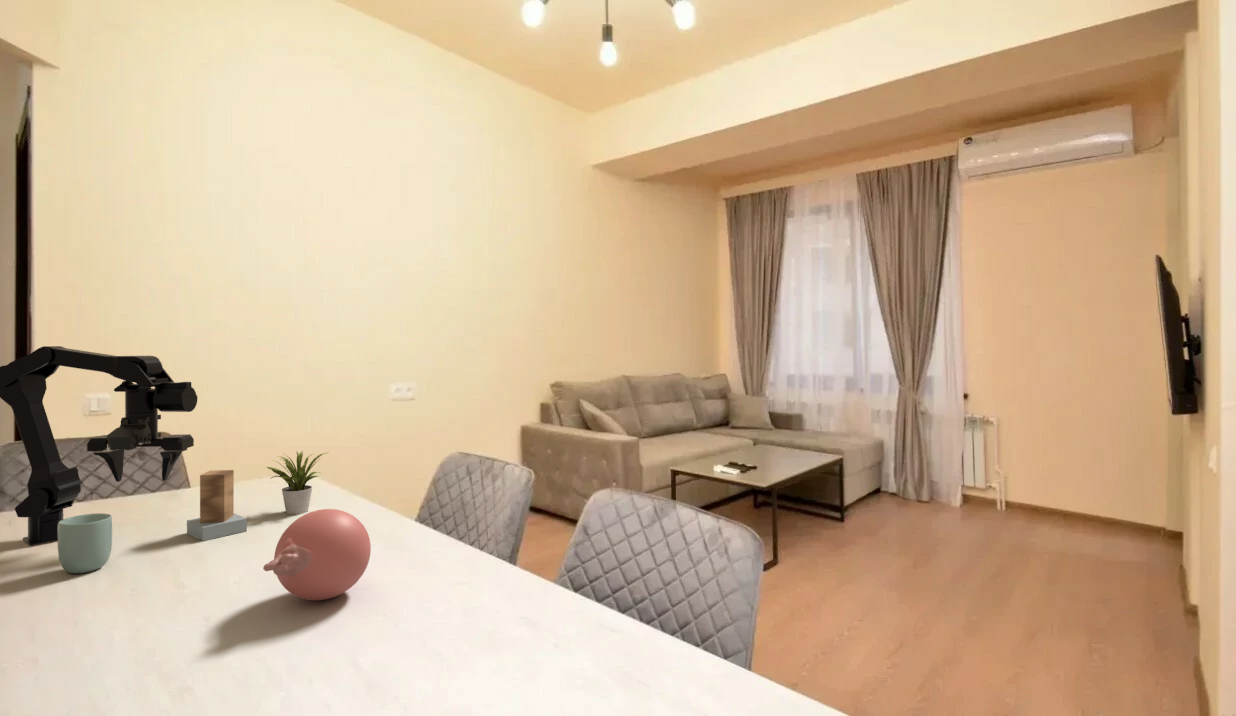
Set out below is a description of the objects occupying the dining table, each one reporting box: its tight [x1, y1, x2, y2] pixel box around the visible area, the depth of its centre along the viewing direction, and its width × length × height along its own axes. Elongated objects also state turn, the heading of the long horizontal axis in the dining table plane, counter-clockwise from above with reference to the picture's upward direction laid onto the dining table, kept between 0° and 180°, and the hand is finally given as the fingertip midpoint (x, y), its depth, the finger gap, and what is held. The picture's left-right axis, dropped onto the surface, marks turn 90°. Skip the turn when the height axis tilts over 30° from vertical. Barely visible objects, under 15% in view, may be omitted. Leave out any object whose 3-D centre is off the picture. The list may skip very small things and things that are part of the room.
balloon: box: [262, 508, 372, 601], centre depth 105 cm, size 15×20×15 cm
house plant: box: [266, 450, 330, 515], centre depth 159 cm, size 14×14×16 cm
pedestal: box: [186, 513, 248, 542], centre depth 141 cm, size 9×9×3 cm
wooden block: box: [199, 469, 235, 523], centre depth 140 cm, size 5×5×11 cm
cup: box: [57, 512, 113, 574], centre depth 117 cm, size 8×8×10 cm
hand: (141, 480), depth 135 cm, fingers open, 9 cm apart
